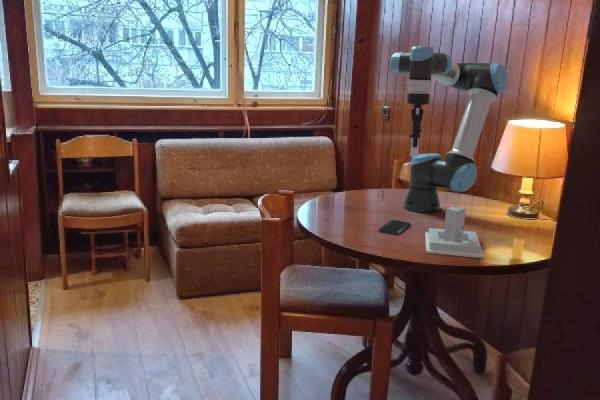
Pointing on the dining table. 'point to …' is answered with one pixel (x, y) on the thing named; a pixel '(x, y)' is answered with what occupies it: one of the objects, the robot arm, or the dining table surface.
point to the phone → (394, 227)
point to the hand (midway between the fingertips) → (414, 153)
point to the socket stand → (453, 244)
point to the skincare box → (454, 224)
